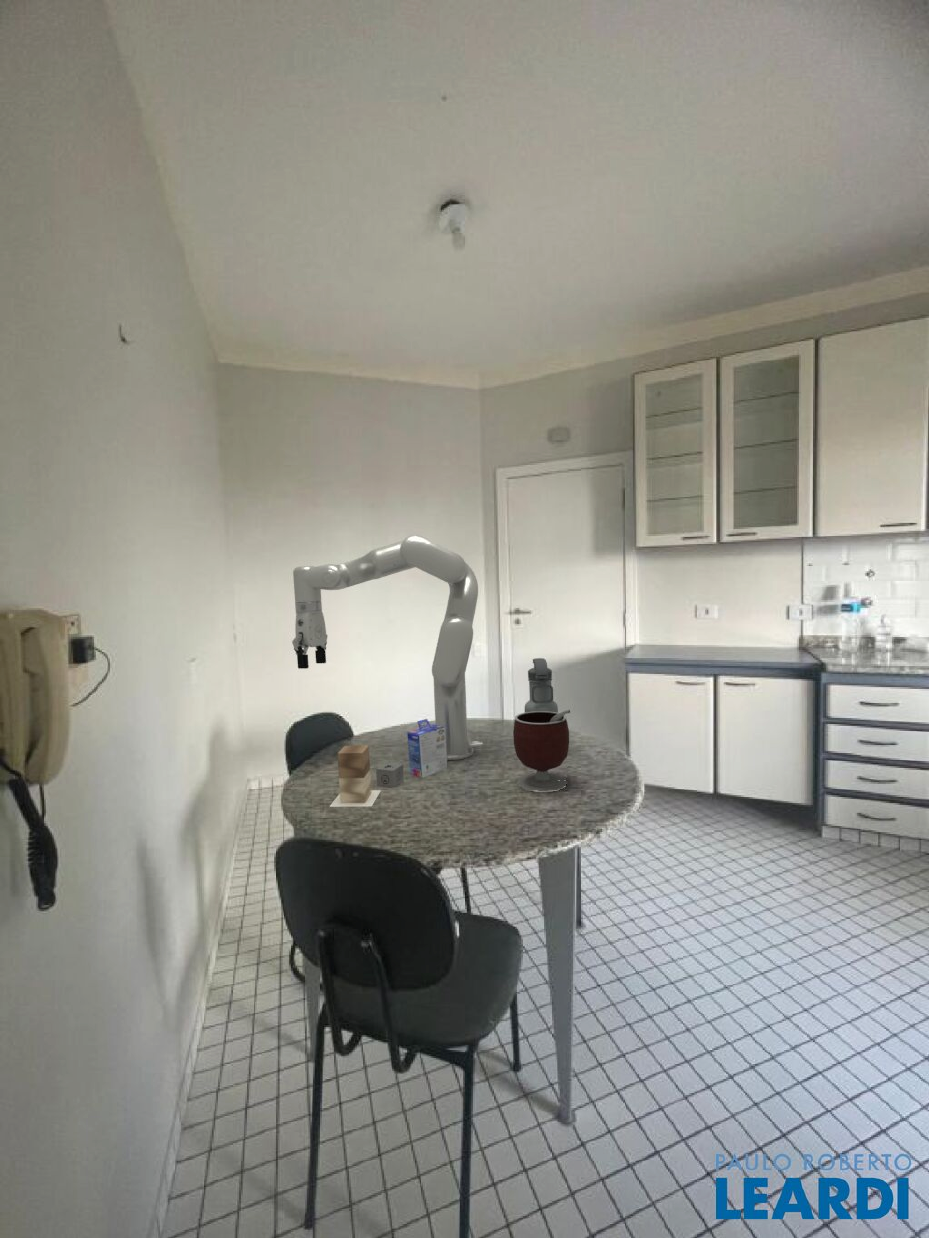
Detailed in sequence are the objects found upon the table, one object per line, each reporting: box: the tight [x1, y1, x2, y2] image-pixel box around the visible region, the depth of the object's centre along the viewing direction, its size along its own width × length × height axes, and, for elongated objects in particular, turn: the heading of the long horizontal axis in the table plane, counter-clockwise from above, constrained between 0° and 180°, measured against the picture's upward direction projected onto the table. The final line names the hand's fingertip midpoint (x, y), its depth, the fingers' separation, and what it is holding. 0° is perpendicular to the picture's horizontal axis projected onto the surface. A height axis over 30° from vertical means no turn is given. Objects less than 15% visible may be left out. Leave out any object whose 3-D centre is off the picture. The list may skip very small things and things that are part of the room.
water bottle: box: [524, 657, 559, 713], centre depth 163 cm, size 10×10×28 cm
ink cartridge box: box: [407, 718, 448, 778], centre depth 151 cm, size 10×6×14 cm, turn 137°
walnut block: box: [337, 744, 371, 779], centre depth 133 cm, size 6×6×6 cm
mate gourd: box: [512, 709, 571, 791], centre depth 138 cm, size 16×14×20 cm
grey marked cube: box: [375, 762, 405, 788], centre depth 143 cm, size 5×5×5 cm
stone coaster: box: [329, 789, 382, 808], centre depth 133 cm, size 10×10×1 cm
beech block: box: [338, 769, 372, 803], centre depth 133 cm, size 6×6×6 cm
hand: (312, 665), depth 164 cm, fingers open, 9 cm apart
